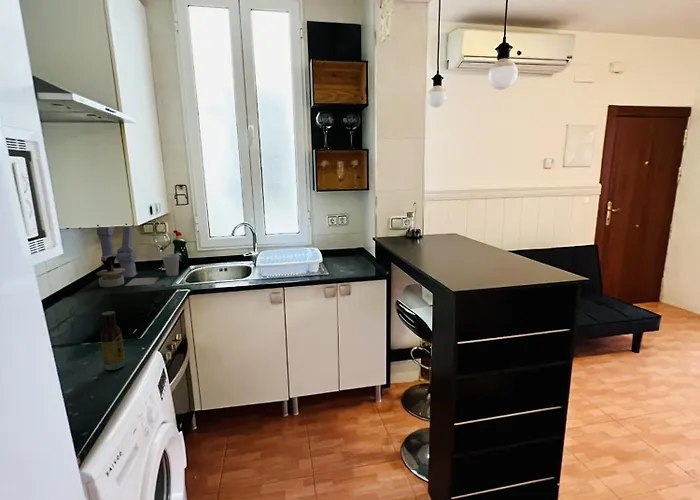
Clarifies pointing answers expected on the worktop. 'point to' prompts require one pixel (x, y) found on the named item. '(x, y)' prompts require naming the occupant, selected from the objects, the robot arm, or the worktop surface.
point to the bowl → (111, 280)
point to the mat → (142, 281)
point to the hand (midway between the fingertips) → (110, 269)
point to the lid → (112, 272)
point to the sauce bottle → (111, 340)
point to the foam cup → (171, 264)
